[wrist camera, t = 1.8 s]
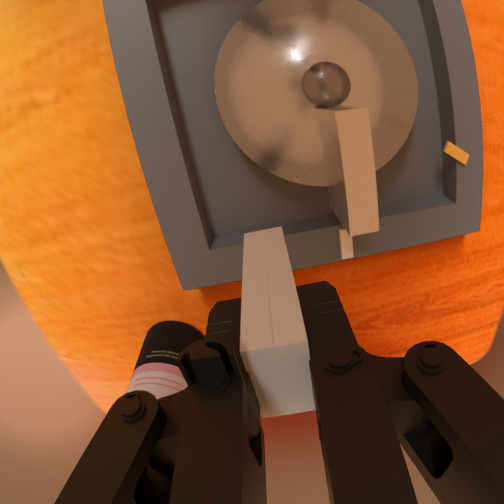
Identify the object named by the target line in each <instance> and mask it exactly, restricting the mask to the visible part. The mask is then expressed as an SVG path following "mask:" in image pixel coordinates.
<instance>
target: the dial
mask: <svg viewBox="0 0 504 504" xmlns="http://www.w3.org/2000/svg"><path fill="white" fill-rule="evenodd" d="M214 89H215V96H216V102H217V106H218V109H219V113H220V116H221V118H222V121H223V123H224V125H225V127H226V129H227V131H228V132H229V134H230V135H231V137H232V139H233V140H234V142H235V143H236V144H237V145H238V146H239V148H240V149H241V150H242V151H243V152H244V153H245V154H246V155H247V156H248V157H249V158H250V159H251V160H252V161H254V162H255V163H256V164H258V165H259V166H260V167H262V168H263V169H265V170H267V171H268V172H270V173H272V174H274V175H276V176H278V177H280V178H283V179H285V180H288V181H291V182H295V183H299V184H303V185H310V186H327V187H328V194H329V202H330V208H331V209H332V211H333V212H334V213H335V215H336V216H337V218H338V219H339V221H340V222H341V224H342V225H343V227H344V228H345V230H346V231H347V233H348V234H349V236H350V237H351V236H356V235H361V234H366V233H371V232H376V231H379V215H378V198H377V185H376V173H375V171H377V170H378V169H380V168H381V167H383V166H384V165H385V164H386V163H387V162H388V161H389V160H391V159H392V158H393V157H394V156H395V154H396V153H397V152H398V151H399V150H400V148H401V147H402V145H403V144H404V142H405V141H406V139H407V137H408V135H409V133H410V131H411V129H412V126H413V123H414V120H415V116H416V111H417V105H418V83H417V76H416V72H415V68H414V64H413V62H412V59H411V56H410V54H409V52H408V50H407V48H406V46H405V44H404V42H403V41H402V39H401V38H400V36H399V35H398V33H397V32H396V31H395V30H394V29H393V27H392V26H391V25H390V24H389V23H388V22H387V21H386V20H385V19H384V18H383V17H381V16H380V15H379V14H378V13H377V12H375V11H374V10H372V9H371V8H369V7H368V6H366V5H365V4H363V3H361V2H359V1H357V0H264V1H262V2H261V3H259V4H257V5H256V6H254V7H253V8H251V9H250V10H249V11H247V12H246V13H245V14H244V15H243V16H242V17H241V18H240V19H239V20H238V21H237V22H236V23H235V24H234V26H233V27H232V28H231V30H230V31H229V33H228V34H227V36H226V38H225V39H224V42H223V44H222V46H221V48H220V51H219V54H218V58H217V61H216V67H215V75H214Z"/></svg>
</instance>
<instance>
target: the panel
mask: <svg viewBox="0 0 504 504" xmlns="http://www.w3.org/2000/svg"><path fill="white" fill-rule="evenodd" d="M262 1H264V0H103V6H104V12H105V17H106V22H107V28H108V33H109V38H110V43H111V48H112V52H113V57H114V62H115V66H116V71H117V75H118V79H119V84H120V88H121V92H122V96H123V100H124V104H125V108H126V112H127V116H128V119H129V123H130V127H131V131H132V134H133V138H134V142H135V145H136V149H137V152H138V156H139V159H140V163H141V166H142V169H143V173H144V176H145V179H146V182H147V186H148V189H149V192H150V195H151V198H152V202H153V205H154V208H155V211H156V214H157V217H158V220H159V223H160V226H161V229H162V232H163V235H164V238H165V241H166V244H167V246H168V249H169V252H170V255H171V258H172V261H173V263H174V266H175V269H176V272H177V274H178V277H179V280H180V282H181V285H182V288H183V290H190V289H195V288H201V287H207V286H213V285H218V284H224V283H229V282H235V281H240V280H242V273H243V246H244V234H245V233H250V232H255V231H260V230H265V229H270V228H275V227H281V226H282V231H283V235H284V239H285V243H286V247H287V251H288V256H289V260H290V264H291V268H292V271H294V270H299V269H304V268H309V267H314V266H319V265H324V264H330V263H334V262H339V261H344V260H349V259H354V258H359V257H364V256H369V255H374V254H378V253H383V252H388V251H393V250H397V249H402V248H407V247H411V246H416V245H420V244H425V243H429V242H434V241H438V240H443V239H447V238H452V237H456V236H460V235H465V234H469V233H473V232H478V231H479V230H480V219H481V206H482V186H483V140H482V120H481V107H480V97H479V88H478V80H477V73H476V67H475V60H474V55H473V49H472V44H471V39H470V35H469V30H468V26H467V22H466V18H465V14H464V10H463V6H462V3H461V0H357V1H359V2H361V3H363V4H365V5H366V6H368V7H369V8H371V9H372V10H374V11H375V12H377V13H378V14H379V15H380V16H381V17H383V18H384V19H385V20H386V21H387V22H388V23H389V24H390V25H391V26H392V27H393V29H394V30H395V31H396V32H397V33H398V35H399V36H400V38H401V39H402V41H403V42H404V44H405V46H406V48H407V50H408V52H409V54H410V56H411V59H412V62H413V64H414V68H415V72H416V76H417V83H418V105H417V111H416V116H415V120H414V123H413V126H412V129H411V131H410V133H409V135H408V137H407V139H406V141H405V142H404V144H403V145H402V147H401V148H400V150H399V151H398V152H397V153H396V154H395V156H394V157H393V158H392V159H391V160H389V161H388V162H387V163H386V164H385V165H384V166H383V167H381V168H380V169H378V170H377V171H375V173H376V185H377V198H378V215H379V231H376V232H371V233H366V234H361V235H356V236H351V237H350V236H349V234H348V233H347V231H346V230H345V228H344V227H343V225H342V224H341V222H340V221H339V219H338V218H337V216H336V215H335V213H334V212H333V211H332V209H331V208H330V202H329V194H328V187H327V186H310V185H303V184H299V183H295V182H291V181H288V180H285V179H283V178H280V177H278V176H276V175H274V174H272V173H270V172H268V171H267V170H265V169H263V168H262V167H260V166H259V165H258V164H256V163H255V162H254V161H252V160H251V159H250V158H249V157H248V156H247V155H246V154H245V153H244V152H243V151H242V150H241V149H240V148H239V146H238V145H237V144H236V143H235V142H234V140H233V139H232V137H231V135H230V134H229V132H228V131H227V129H226V127H225V125H224V123H223V121H222V118H221V116H220V113H219V109H218V106H217V102H216V96H215V89H214V75H215V67H216V61H217V58H218V54H219V51H220V48H221V46H222V44H223V42H224V39H225V38H226V36H227V34H228V33H229V31H230V30H231V28H232V27H233V26H234V24H235V23H236V22H237V21H238V20H239V19H240V18H241V17H242V16H243V15H244V14H245V13H246V12H247V11H249V10H250V9H251V8H253V7H254V6H256V5H257V4H259V3H261V2H262Z"/></svg>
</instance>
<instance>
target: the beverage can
mask: <svg viewBox="0 0 504 504" xmlns="http://www.w3.org/2000/svg"><path fill="white" fill-rule="evenodd" d="M202 339H205V337H204V336H203V335H202V333H201V332H200V331H198V330H197V329H196V328H194V327H193V326H191V325H189V324H186V323H183V322H179V321H163V322H159V323H157V324H155V325H153V326H152V327H151V328H150V329H149V330H148V332H147V335H146V337H145V340H144V343H143V346H142V349H141V351H140V354H139V357H138V360H137V363H136V366H135V369H134V372H133V375H132V378H131V381H130V384H129V387H128V390H127V393H128V392H132V391H135V390H145V391H147V392H150V393H152V394H153V395H154V397H155V398H156V399H159V398H162V397H165V396H168V395H171V394H174V393H177V392H179V391H181V390H183V389H185V388H186V387H188V385H187V383H186V381H185V379H184V377H183V375H182V373H181V371H180V369H179V367H178V366H177V364H176V362H175V361H176V359H177V357H178V355H179V353H180V352H181V351H182V350H183V349H184V348H185V347H186V346H188V345H190V344H192V343H193V342H195V341H198V340H202Z"/></svg>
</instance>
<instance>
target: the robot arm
mask: <svg viewBox="0 0 504 504" xmlns="http://www.w3.org/2000/svg"><path fill="white" fill-rule="evenodd" d="M207 324H208V326H207V329H206V335H205V339H202V340H198V341H195V342H193V343H192V344H190V345H188V346H186V347H185V348H184V349H183V350H182V351H181V352H180V353H179V355H178V357H177V359H176V361H175V362H176V364H177V366H178V367H179V369H180V371H181V373H182V375H183V377H184V379H185V381H186V383H187V385H188V387H186V388H185V389H183V390H181V391H179V392H177V393H174V394H171V395H168V396H165V397H162V398H159V399H156V398H155V397H154V395H153V394H152V393H150V392H147V391H145V390H135V391H132V392H128V393H126V394H124V395H123V396H121V397H120V398H118V399H117V400H116V402H115V403H114V404H113V405H112V407H111V408H110V410H109V412H108V413H107V415H106V417H105V418H104V420H103V422H102V423H101V425H100V427H99V428H98V430H97V431H96V433H95V435H94V437H93V438H92V440H91V441H90V443H89V445H88V447H87V448H86V450H85V451H84V453H83V455H82V456H81V458H80V460H79V462H78V463H77V465H76V467H75V469H74V470H73V472H72V474H71V475H70V477H69V479H68V481H67V483H66V484H65V486H64V488H63V489H62V491H61V493H60V495H59V497H58V498H57V500H56V502H55V504H267V496H266V472H265V446H264V434H263V430H262V427H261V425H260V412H261V415H262V417H263V418H268V417H276V416H283V415H289V414H295V413H301V412H307V411H312V410H316V414H317V421H318V430H319V439H320V441H321V447H322V454H323V460H324V466H325V473H326V479H327V486H328V493H329V499H330V504H418V503H417V499H416V495H415V492H414V488H413V485H412V482H411V478H410V475H409V472H408V468H407V465H406V462H405V459H404V456H403V453H402V449H401V446H400V444H401V445H402V447H403V448H404V450H405V451H406V453H407V454H408V456H409V457H410V459H411V460H412V461H413V463H414V464H415V466H416V467H417V469H418V470H419V472H420V473H421V475H422V476H423V478H424V479H425V481H426V482H427V484H428V485H429V487H430V488H431V490H432V491H433V493H434V494H435V496H436V497H437V499H438V500H439V502H440V503H441V504H504V399H503V398H502V397H501V396H500V395H499V394H498V393H497V392H496V391H495V390H494V389H493V388H492V387H491V386H490V385H489V384H488V383H487V382H486V381H485V380H484V379H483V378H482V377H481V376H480V375H479V374H478V373H477V372H476V371H475V370H474V369H473V368H472V367H471V366H470V365H469V364H468V363H467V362H466V361H465V360H464V359H463V358H461V357H460V356H459V355H458V354H457V353H456V352H455V351H454V350H453V349H452V348H450V347H449V346H447V345H446V344H444V343H440V342H436V341H424V342H421V343H418V344H415V345H414V346H413V347H411V348H410V349H409V350H408V351H407V353H406V355H405V357H378V356H375V355H371V354H369V353H367V352H366V351H365V350H364V349H363V348H361V347H360V346H359V345H358V343H357V341H356V339H355V336H354V334H353V331H352V329H351V326H350V324H349V321H348V318H347V316H346V313H345V311H344V309H343V306H342V303H341V301H340V298H339V296H338V294H337V291H336V289H335V288H334V287H333V286H332V285H330V284H329V283H328V282H326V281H322V282H317V283H312V284H307V285H302V286H295V281H294V277H293V273H292V268H291V264H290V260H289V256H288V251H287V247H286V243H285V239H284V235H283V231H282V226H281V227H275V228H270V229H265V230H260V231H255V232H250V233H245V234H244V246H243V273H242V298H237V299H231V300H225V301H219V302H217V303H216V304H215V305H214V307H213V308H212V309H211V311H210V312H209V317H208V323H207ZM399 442H400V443H399Z"/></svg>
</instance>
